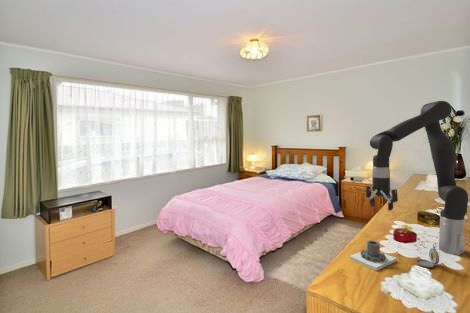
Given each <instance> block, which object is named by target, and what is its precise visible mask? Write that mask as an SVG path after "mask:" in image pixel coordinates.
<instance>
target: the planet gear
mask: <svg viewBox="0 0 470 313" xmlns="http://www.w3.org/2000/svg"><path fill="white" fill-rule="evenodd" d="M360 252H361V257H362V258H365V260H370V261H371V262H374V261H376V262H378V263H380V261H382V262H384V260H386V256H385V254H386V253H385V254H384V252H382V253H381V251H380V243H379V242H378V241H376V240H367V241H366V248H365V249H361V250H360Z"/></svg>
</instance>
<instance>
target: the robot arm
mask: <svg viewBox="0 0 470 313" xmlns="http://www.w3.org/2000/svg"><path fill="white" fill-rule="evenodd" d="M452 110H453V109H452V105H451V104H450V103H449V102H448V101H445V100H437V101H434V102H433V101H432V102H429V103H425V104H424V105H422V106H421V109H420V114H419V115H416V116H414V117H411V118H409V119H406V120H404V121H401V122H400V123H398V124H396V125H394V126H392V127H391V128H390V129H387V130H385V131H381V132H379V133H377V134H375V135H374V136H372V137H371V138H370V140H369V145H370V147H371V148H372V149H374V150H377V153H376V154H375V155H373V157H372V173H371V176H372V182H371V183H372V185H371V184H370V185H366V188H365V189H366V190H365V191H366V192H365V197H366V198H368V199H369V206H371V207H372V208H373V207H375V206H376V199H375V198H376V197H382V198H384V199H385V200H387V202H388V203H387V210H388V211H392V210H394V203H396V202H398V201H399V200H398V199H399V197H398V190H397V189H396V188H395V189H392V188H391V169H390V158H391V155H392V151H393V147H394V146H393V145H394V142H399V141H401V140H402V139H405V138H406V137H408V136H410V135H411V134H413V133H415V132H417V131H419V130H421V129H422V128H424V129H425V132H426V135H427V136H426V137H427V139H428V143H429V149H430V153H431V154H430V155H431V159H432V162H433V168H434V170H435V175H436V183H437V184H436V185H437V193H438V196H439V198H441V200H442V201H444V207H443V209H441V210H440V211H439V212H440V213H439V215H440V216H439V235H438V236H439V238H438V250H440V251H441V252H444V253H447V254H450V255H457V256H460V255H463V254H464V253H465V252H466V251H465V247H466V233H465V217H466V215H467V212H468V206H469V194H468V192H467V190H466V189H464V188H463V187H461V186H458V184H457V181H456V179H455V167H456V165H457V164H456V163H457V155H456V150H455V145H454V143H453V142H452V140H450V138H449V137H448V135H446V133H445V132H444V131H443V129H442V127H441V124H440V123H441V122H440V121H441V120H445V119H447V118H448V117H449V116H450V115H451V113H452Z"/></svg>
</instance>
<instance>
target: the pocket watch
mask: <svg viewBox="0 0 470 313" xmlns="http://www.w3.org/2000/svg"><path fill="white" fill-rule="evenodd" d="M436 248H437V245H436V243H433V244H432V248H430V249H429V253H428V254H429V260H427V259H421V258H418V259H416V260H415V263H416V265H418V266H420V267H423V268H428V269H429V268H430V269H432V268H434V267H435V265H439V263H440V257H439V256H440V255H439V253H438V251H437V250H436Z"/></svg>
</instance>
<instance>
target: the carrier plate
mask: <svg viewBox="0 0 470 313" xmlns="http://www.w3.org/2000/svg"><path fill="white" fill-rule="evenodd" d="M380 252H381V251H380ZM381 253H384V252H381ZM384 254H385V256H386V260H384V262H382V261H380V263H378V262H376V261H374V262H371V261H370V260H365V258H362V257H361V251H358V252H357V253H354V254H352V255H349V260H351V261H353V262H355V263H357V264H360V265H362V266H365V267H366V268H369V269H371V270H373V271H375V272H376V271H378V270H381V269H383V268H385V267H388V266H389V265H392V264H394V263H395V262H397V257H395V256H391V255H389V254H387V253H384Z"/></svg>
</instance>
